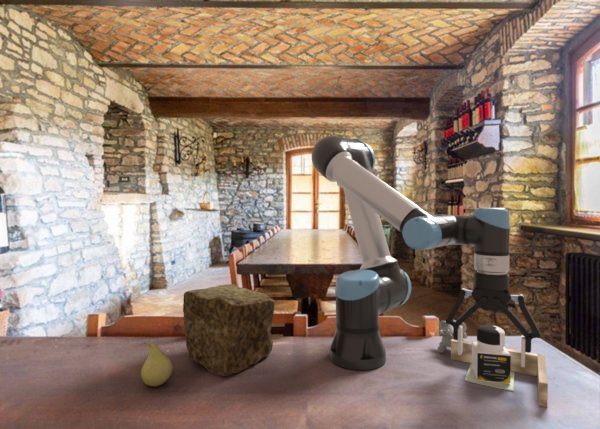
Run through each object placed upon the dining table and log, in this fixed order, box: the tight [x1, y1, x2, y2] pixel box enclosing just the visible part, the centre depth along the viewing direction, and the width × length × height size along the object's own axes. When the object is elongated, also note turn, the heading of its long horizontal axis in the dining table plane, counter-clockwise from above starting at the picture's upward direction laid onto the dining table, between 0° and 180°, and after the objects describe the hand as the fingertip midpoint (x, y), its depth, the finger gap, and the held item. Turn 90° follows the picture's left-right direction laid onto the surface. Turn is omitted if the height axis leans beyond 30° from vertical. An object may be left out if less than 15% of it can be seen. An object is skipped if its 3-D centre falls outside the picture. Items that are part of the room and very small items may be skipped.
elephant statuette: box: [437, 320, 468, 354], centre depth 108 cm, size 9×12×8 cm
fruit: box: [140, 340, 173, 388], centre depth 88 cm, size 7×8×12 cm
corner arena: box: [450, 339, 549, 408], centre depth 90 cm, size 21×16×5 cm
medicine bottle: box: [471, 324, 512, 384], centre depth 90 cm, size 7×7×12 cm
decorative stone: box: [182, 283, 275, 377], centre depth 102 cm, size 21×20×20 cm
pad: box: [464, 363, 516, 392], centre depth 91 cm, size 10×10×1 cm
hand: (490, 358), depth 91 cm, fingers open, 13 cm apart
